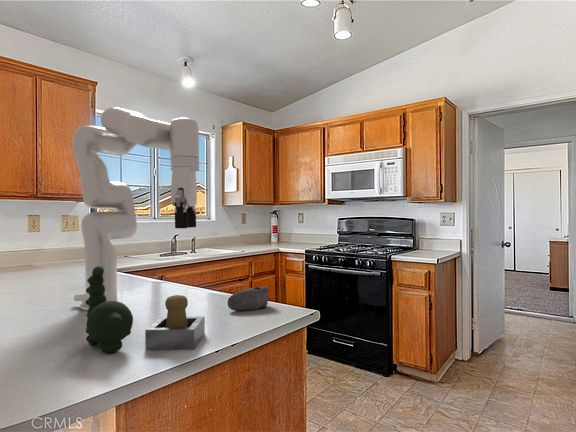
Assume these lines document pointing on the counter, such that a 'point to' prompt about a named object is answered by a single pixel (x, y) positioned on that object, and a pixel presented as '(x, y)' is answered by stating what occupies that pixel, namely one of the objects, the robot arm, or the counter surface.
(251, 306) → the perforated stone tool
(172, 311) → the cork
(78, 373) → the counter surface
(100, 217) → the robot arm
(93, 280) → the toy figurine
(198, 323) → the metal open box
